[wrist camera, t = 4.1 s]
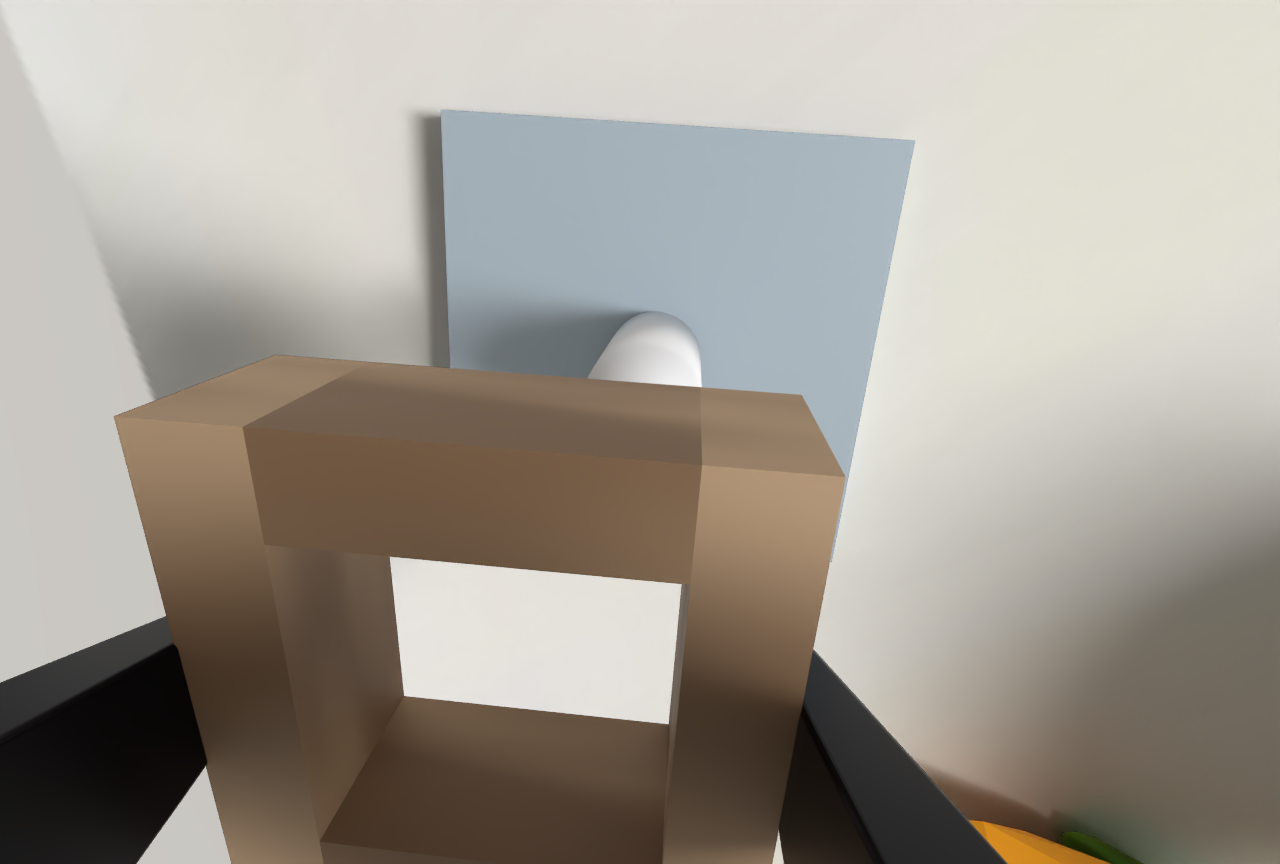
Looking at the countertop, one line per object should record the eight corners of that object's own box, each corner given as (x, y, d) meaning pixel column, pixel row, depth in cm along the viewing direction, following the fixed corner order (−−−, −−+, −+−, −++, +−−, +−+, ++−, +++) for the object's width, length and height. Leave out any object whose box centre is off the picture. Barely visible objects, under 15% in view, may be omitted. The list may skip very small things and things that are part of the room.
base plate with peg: (825, 546, 20) (869, 659, 15) (466, 509, 21) (391, 606, 16) (902, 144, 16) (998, 113, 11) (454, 115, 17) (349, 73, 12)
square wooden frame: (740, 792, 10) (753, 962, 8) (337, 746, 11) (240, 896, 9) (801, 395, 8) (845, 477, 6) (275, 355, 8) (113, 416, 6)
